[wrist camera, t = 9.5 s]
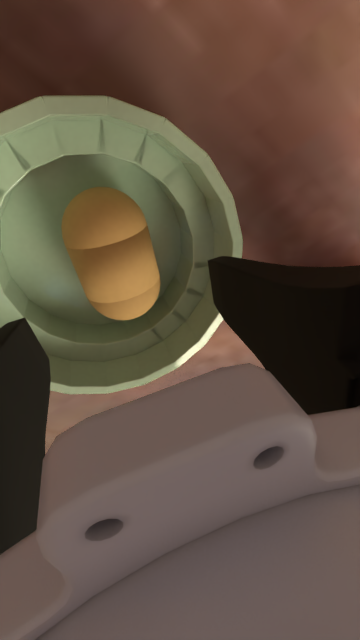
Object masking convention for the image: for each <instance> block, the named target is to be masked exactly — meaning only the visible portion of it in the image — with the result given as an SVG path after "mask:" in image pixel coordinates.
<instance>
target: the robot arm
mask: <svg viewBox="0 0 360 640" xmlns="http://www.w3.org/2000/svg"><path fill="white" fill-rule="evenodd" d="M207 261H208V267H209V274H210V281H211V288H212V295H213V302H214V305H215V306H216V308H217V310H218V311H219V313H220V314H221V316H222V318H223V319H224V320H225V322H226V323H227V324H228V325H229V326H230V327H231V329H232V330H233V331H234V332H235V333H236V334H237V335H238V336H239V338H240V339H241V340H242V341H243V342H244V343H245V344H246V345H247V346H248V348H249V349H250V350H251V351H252V352H253V353H254V354H255V356H256V357H257V358H258V359H259V361H260V362H261V363H262V365H263V366H264V367H265V369H266V370H265V369H262V368H260V367H258V366H255V365H253V364H250V363H248V364H241V365H235V366H229V367H222V368H219V369H216V370H213V371H211V372H208V373H205V374H203V375H200V376H197V377H195V378H192V379H189V380H187V381H184V382H181V383H179V384H176V385H173V386H171V387H168V388H165V389H163V390H160V391H157V392H155V393H152V394H149V395H147V396H144V397H141V398H139V399H136V400H133V401H131V402H128V403H125V404H123V405H120V406H117V407H115V408H112V409H109V410H107V411H104V412H101V413H99V414H96V415H93V416H91V417H88V418H86V419H84V420H83V421H81V422H79V423H78V424H76V425H74V426H73V427H71V428H69V429H68V430H66V431H64V432H63V433H61V434H60V435H58V436H57V437H56V438H55V440H54V442H53V443H52V445H51V447H50V448H49V450H48V452H47V453H46V455H45V433H46V423H47V414H48V405H49V395H50V384H51V375H50V362H49V358H48V356H47V354H46V353H45V351H44V349H43V348H42V346H41V344H40V342H39V341H38V339H37V337H36V336H35V334H34V332H33V330H32V329H31V327H30V325H29V324H28V322H27V320H26V318H25V317H24V318H21V319H18V320H15V321H12V322H8V323H7V324H5V325H4V326H2V327H1V328H0V640H360V265H359V266H345V267H298V266H286V265H278V264H270V263H264V262H258V261H253V260H247V259H242V258H236V257H230V256H220V257H217V258H214V259H210V260H207Z"/></svg>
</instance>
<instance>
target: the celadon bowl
mask: <svg viewBox="0 0 360 640" xmlns="http://www.w3.org/2000/svg"><path fill="white" fill-rule="evenodd" d="M94 187H110V188H113V189H117V190H119V191H121V192H123V193H125V194H127V195H128V196H129V197H131V198H132V199H133V200H134V201H135V202H136V203H137V204H138V206H139V207H140V209H141V210H142V212H143V214H144V216H145V219H146V222H147V226H148V230H149V234H150V238H151V242H152V246H153V250H154V254H155V258H156V262H157V266H158V270H159V274H160V291H159V295H158V298H157V300H156V301H155V303H154V305H153V306H152V307H151V308H150V309H149V310H148V311H147V312H146V313H145V314H143V315H141V316H139V317H137V318H134V319H131V320H115V319H111V318H109V317H106V316H104V315H102V314H101V313H99V312H98V311H97V310H96V309H95V308H94V307H93V306H92V305H91V304H90V302H89V300H88V299H87V297H86V295H85V292H84V290H83V287H82V285H81V283H80V280H79V278H78V275H77V273H76V271H75V268H74V266H73V264H72V261H71V259H70V256H69V254H68V252H67V249H66V247H65V244H64V241H63V238H62V228H61V225H62V217H63V214H64V212H65V209H66V207H67V206H68V204H69V203H70V201H71V200H72V199H73V198H74V197H75V196H76V195H78V194H79V193H81V192H83V191H84V190H87V189H90V188H94ZM242 239H243V237H242V233H241V229H240V224H239V220H238V215H237V211H236V206H235V202H234V198H233V195H232V193H231V192H230V190H229V188H228V187H227V185H226V183H225V181H224V180H223V178H222V176H221V175H220V173H219V171H218V170H217V168H216V166H215V165H214V163H213V161H212V160H211V158H210V156H209V155H208V154H207V152H205V151H204V150H203V149H202V148H201V147H200V146H198V145H197V144H196V143H195V142H194V141H193V140H191V139H190V138H189V137H188V136H187V135H186V134H184V133H183V132H182V131H181V130H180V129H178V128H177V127H176V126H175V125H174V124H173V123H171V122H170V121H169V120H168V119H167V118H164V117H163V116H161V115H158V114H155V113H153V112H150V111H147V110H145V109H142V108H140V107H137V106H134V105H132V104H129V103H126V102H124V101H121V100H118V99H116V98H113V97H111V96H108V97H107V96H106V95H43V96H42V97H41V96H38V97H36V98H33V99H31V100H29V101H26V102H24V103H22V104H19V105H17V106H14V107H12V108H10V109H7V110H5V111H2V112H0V328H1V327H2V326H4V325H5V324H7V323H8V322H12V321H15V320H18V319H21V318H24V317H25V318H26V320H27V322H28V324H29V325H30V327H31V329H32V330H33V332H34V334H35V336H36V337H37V339H38V341H39V342H40V344H41V346H42V348H43V349H44V351H45V353H46V354H47V356H48V358H49V362H50V375H51V384H50V390H52V391H56V392H60V393H65V394H107V393H113V392H117V391H121V390H125V389H129V388H133V387H137V386H141V385H144V384H147V383H149V382H151V381H153V380H155V379H157V378H159V377H161V376H163V375H165V374H167V373H169V372H171V371H173V370H175V369H177V368H179V367H180V366H181V365H182V364H183V363H184V362H186V361H187V360H188V359H189V358H190V357H192V356H193V355H194V354H195V353H196V352H198V351H199V350H200V349H201V348H202V347H203V346H205V344H206V343H207V342H208V340H209V339H210V338H211V336H212V335H213V333H214V332H215V331H216V329H217V328H218V326H219V325H220V324H221V322H222V321H223V318H222V316H221V314H220V313H219V311H218V310H217V308H216V306H215V305H214V302H213V295H212V288H211V281H210V274H209V267H208V261H207V260H210V259H214V258H217V257H220V256H230V257H236V258H242V248H243V240H242Z"/></svg>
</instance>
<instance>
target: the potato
mask: <svg viewBox="0 0 360 640" xmlns="http://www.w3.org/2000/svg"><path fill="white" fill-rule="evenodd" d="M61 228H62V238H63V241H64V244H65V247H66V249H67V252H68V254H69V256H70V259H71V261H72V264H73V266H74V268H75V271H76V273H77V275H78V278H79V280H80V283H81V285H82V287H83V290H84V292H85V295H86V297H87V299H88V300H89V302H90V304H91V305H92V306H93V307H94V308H95V309H96V310H97V311H98V312H99V313H101V314H102V315H104V316H106V317H109V318H111V319H115V320H131V319H134V318H137V317H139V316H141V315H143V314H145V313H146V312H147V311H148V310H149V309H150V308H151V307H152V306H153V305H154V303H155V301H156V300H157V298H158V295H159V291H160V274H159V270H158V266H157V262H156V258H155V254H154V250H153V246H152V242H151V238H150V234H149V230H148V226H147V222H146V219H145V216H144V214H143V212H142V210H141V209H140V207H139V206H138V204H137V203H136V202H135V201H134V200H133V199H132V198H131V197H129V196H128V195H127V194H125V193H123V192H121V191H119V190H117V189H113V188H110V187H94V188H90V189H87V190H84V191H83V192H81V193H79V194H78V195H76V196H75V197H74V198H73V199H72V200H71V201H70V203H69V204H68V206H67V207H66V209H65V212H64V214H63V217H62V225H61Z"/></svg>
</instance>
